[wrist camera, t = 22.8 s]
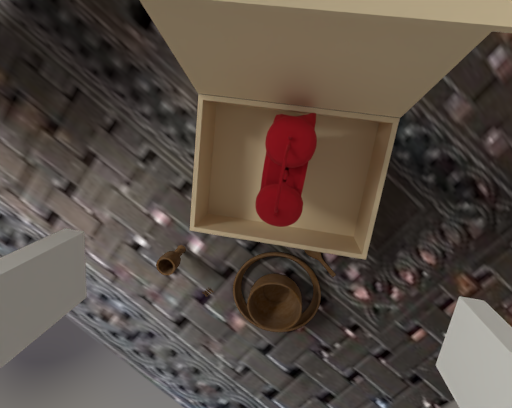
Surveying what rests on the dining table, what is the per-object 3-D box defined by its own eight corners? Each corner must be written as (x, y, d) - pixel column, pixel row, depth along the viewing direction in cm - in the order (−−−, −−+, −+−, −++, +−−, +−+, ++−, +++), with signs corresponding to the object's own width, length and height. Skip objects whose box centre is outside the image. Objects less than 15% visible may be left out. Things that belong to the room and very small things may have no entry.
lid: (111, -9, 16) (119, -47, 16) (195, 107, 31) (198, 87, 31) (524, 28, 14) (529, -16, 14) (398, 132, 29) (401, 111, 29)
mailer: (204, 215, 41) (189, 230, 36) (214, 98, 37) (198, 94, 32) (356, 239, 39) (366, 259, 34) (384, 118, 35) (400, 118, 30)
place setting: (254, 347, 46) (248, 378, 41) (166, 247, 44) (147, 266, 38) (353, 287, 42) (361, 313, 36) (260, 172, 39) (254, 181, 34)
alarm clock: (286, 107, 36) (227, 100, 22) (340, 116, 34) (311, 114, 20) (271, 192, 39) (212, 230, 26) (319, 205, 37) (283, 253, 24)
